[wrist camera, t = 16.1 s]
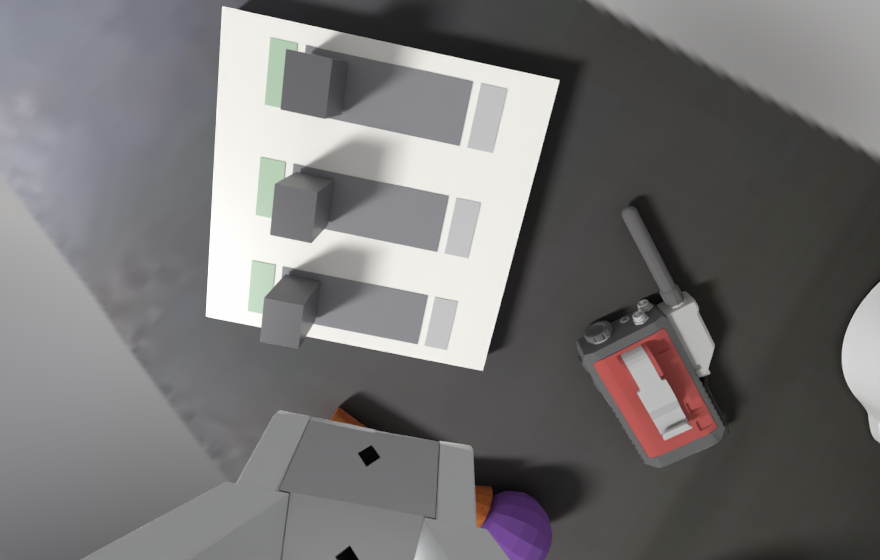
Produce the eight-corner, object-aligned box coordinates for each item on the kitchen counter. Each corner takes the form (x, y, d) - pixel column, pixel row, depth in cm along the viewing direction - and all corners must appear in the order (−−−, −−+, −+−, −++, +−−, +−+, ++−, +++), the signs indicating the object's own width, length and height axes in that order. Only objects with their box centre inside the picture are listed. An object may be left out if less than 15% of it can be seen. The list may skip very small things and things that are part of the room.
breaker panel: (554, 80, 33) (560, 80, 31) (481, 357, 40) (482, 371, 38) (235, 10, 33) (221, 5, 31) (217, 305, 40) (205, 316, 38)
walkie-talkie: (745, 411, 42) (635, 194, 36) (776, 447, 38) (658, 209, 32) (640, 458, 44) (521, 258, 38) (659, 497, 39) (528, 280, 34)
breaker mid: (333, 179, 34) (317, 192, 30) (328, 224, 35) (311, 243, 31) (296, 171, 34) (274, 183, 30) (291, 217, 35) (269, 234, 31)
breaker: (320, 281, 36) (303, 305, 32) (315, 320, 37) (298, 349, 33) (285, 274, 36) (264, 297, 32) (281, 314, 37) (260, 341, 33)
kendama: (338, 409, 38) (574, 543, 39) (352, 381, 44) (557, 498, 45) (298, 476, 39) (530, 605, 40) (317, 439, 45) (519, 553, 46)
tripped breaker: (348, 61, 31) (332, 59, 27) (341, 114, 32) (325, 118, 28) (307, 53, 31) (286, 49, 27) (302, 106, 32) (280, 109, 28)
